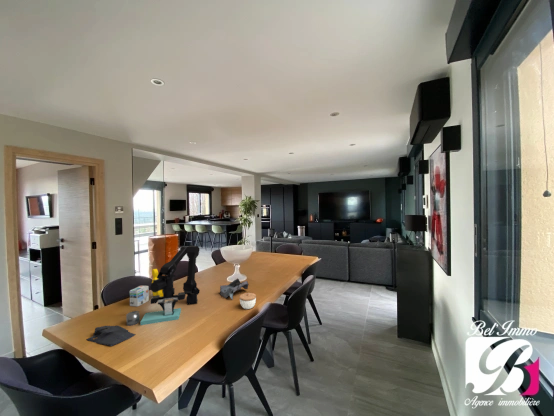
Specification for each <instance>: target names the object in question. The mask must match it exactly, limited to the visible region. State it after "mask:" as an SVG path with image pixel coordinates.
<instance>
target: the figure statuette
mask: <svg viewBox="0 0 554 416" xmlns="http://www.w3.org/2000/svg"><path fill="white" fill-rule="evenodd" d="M158 274H159V271H158V268H153V269H151V276H152V281H151V284H152V283H153V280H156V279H157V276H158ZM151 293H152V297H153V296H157V295H160V297H163V293H162V290H160V291H158V292H152V291H151Z"/></svg>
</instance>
